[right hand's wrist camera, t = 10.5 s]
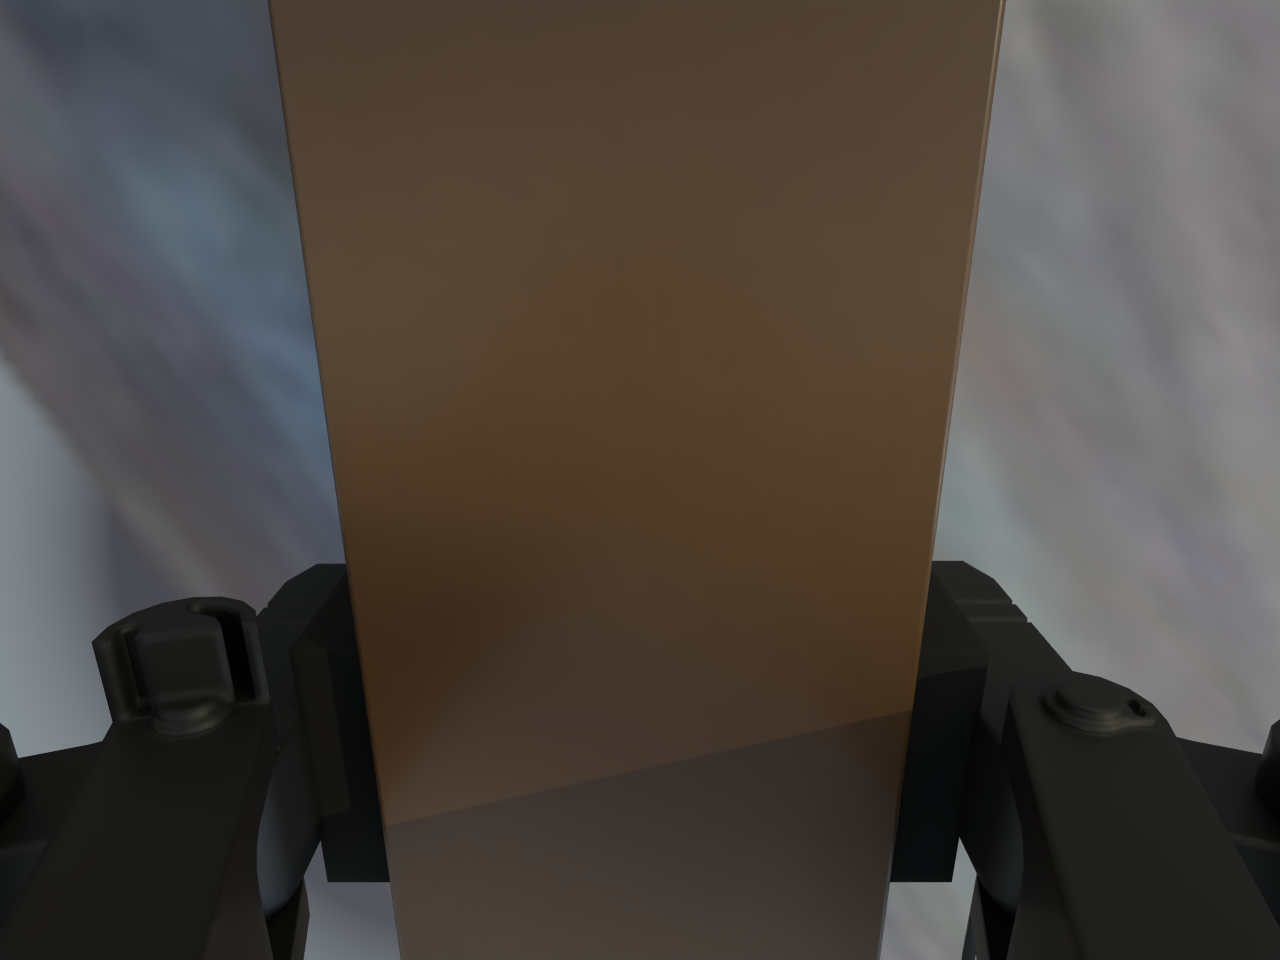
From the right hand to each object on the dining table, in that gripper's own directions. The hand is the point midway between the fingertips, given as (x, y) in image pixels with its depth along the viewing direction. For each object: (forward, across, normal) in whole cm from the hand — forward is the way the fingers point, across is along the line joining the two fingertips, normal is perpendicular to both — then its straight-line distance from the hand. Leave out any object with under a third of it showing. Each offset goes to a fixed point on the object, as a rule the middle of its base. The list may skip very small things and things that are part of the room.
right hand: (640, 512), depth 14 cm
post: (+1, 0, -20) cm, 20 cm away
